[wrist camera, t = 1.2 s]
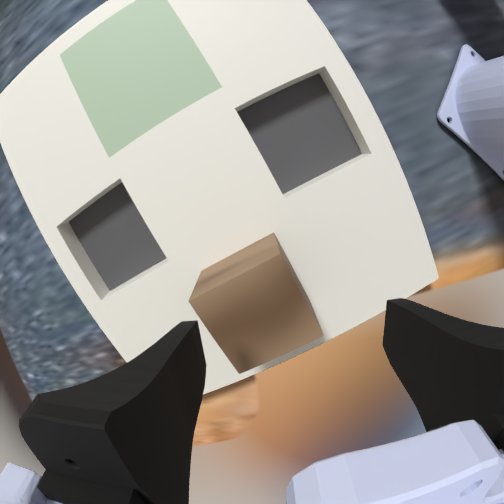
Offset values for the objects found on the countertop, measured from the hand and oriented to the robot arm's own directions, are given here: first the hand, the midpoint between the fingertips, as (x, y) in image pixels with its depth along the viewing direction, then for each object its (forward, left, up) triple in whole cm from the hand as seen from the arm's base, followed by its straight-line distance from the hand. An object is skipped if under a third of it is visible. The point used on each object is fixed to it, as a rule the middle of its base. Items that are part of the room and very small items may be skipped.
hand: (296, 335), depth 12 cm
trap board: (+6, -2, -10) cm, 12 cm away
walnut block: (+1, +2, -8) cm, 9 cm away
